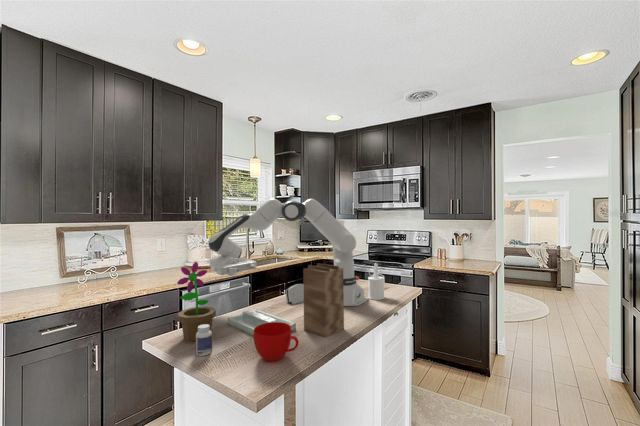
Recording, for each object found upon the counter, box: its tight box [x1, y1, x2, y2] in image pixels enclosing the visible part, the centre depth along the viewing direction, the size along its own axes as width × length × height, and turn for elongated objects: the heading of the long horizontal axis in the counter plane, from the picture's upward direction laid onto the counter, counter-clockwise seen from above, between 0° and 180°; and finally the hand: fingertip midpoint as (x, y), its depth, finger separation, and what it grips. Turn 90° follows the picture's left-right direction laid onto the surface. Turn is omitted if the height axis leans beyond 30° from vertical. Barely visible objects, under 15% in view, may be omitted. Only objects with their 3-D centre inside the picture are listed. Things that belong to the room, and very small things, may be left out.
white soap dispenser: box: [367, 262, 386, 301], centre depth 181 cm, size 10×9×20 cm
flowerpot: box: [177, 261, 217, 343], centre depth 127 cm, size 14×14×30 cm
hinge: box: [285, 283, 304, 305], centre depth 178 cm, size 17×5×10 cm, turn 133°
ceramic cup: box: [253, 322, 300, 363], centre depth 107 cm, size 13×17×10 cm
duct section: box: [242, 309, 277, 326], centre depth 138 cm, size 4×20×4 cm, turn 47°
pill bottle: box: [195, 324, 213, 357], centre depth 112 cm, size 5×5×10 cm
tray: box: [227, 309, 297, 337], centre depth 138 cm, size 16×28×3 cm, turn 47°
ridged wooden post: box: [302, 262, 345, 338], centre depth 133 cm, size 12×12×27 cm
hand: (245, 269), depth 149 cm, fingers open, 8 cm apart
